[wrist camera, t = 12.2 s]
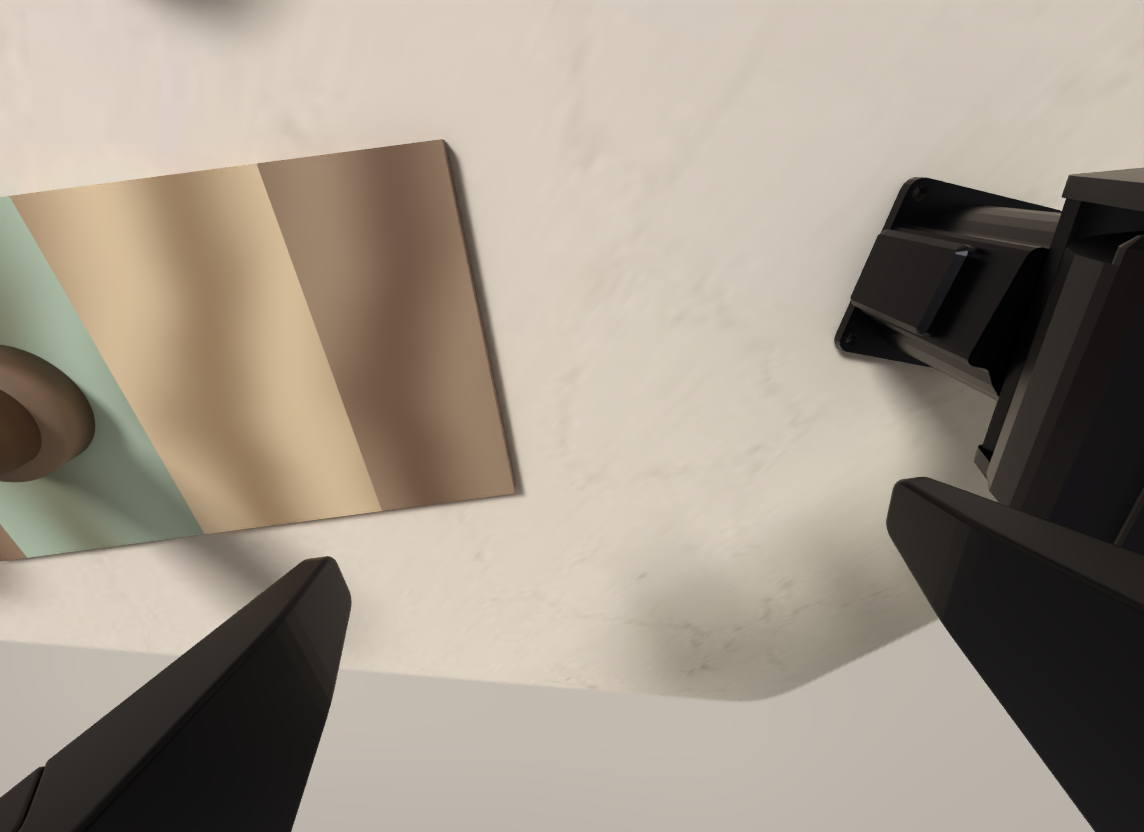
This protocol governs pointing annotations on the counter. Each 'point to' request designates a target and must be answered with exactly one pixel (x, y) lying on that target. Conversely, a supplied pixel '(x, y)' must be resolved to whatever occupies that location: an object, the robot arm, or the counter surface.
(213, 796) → the robot arm
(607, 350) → the counter surface
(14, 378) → the pawn
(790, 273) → the counter surface
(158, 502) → the game track
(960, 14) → the counter surface
